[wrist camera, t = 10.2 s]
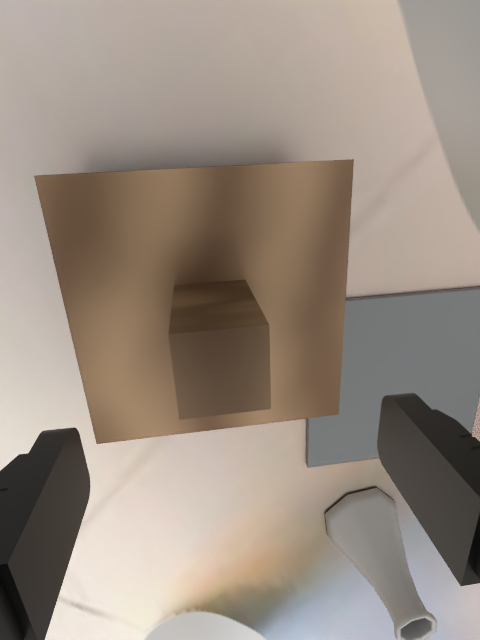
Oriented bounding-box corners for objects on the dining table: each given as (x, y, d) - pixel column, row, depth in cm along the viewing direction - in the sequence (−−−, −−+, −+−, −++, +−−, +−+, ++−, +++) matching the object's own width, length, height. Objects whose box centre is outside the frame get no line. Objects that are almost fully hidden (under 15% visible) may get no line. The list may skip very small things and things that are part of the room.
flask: (311, 509, 36) (355, 627, 26) (380, 474, 35) (449, 582, 26) (339, 553, 38) (388, 674, 29) (404, 521, 38) (474, 633, 29)
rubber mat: (497, 284, 29) (503, 287, 29) (464, 441, 35) (468, 445, 34) (309, 301, 28) (311, 304, 27) (305, 462, 33) (307, 467, 33)
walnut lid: (345, 160, 18) (431, 154, 12) (332, 404, 23) (388, 493, 17) (42, 175, 17) (-48, 178, 10) (100, 432, 22) (64, 540, 16)
